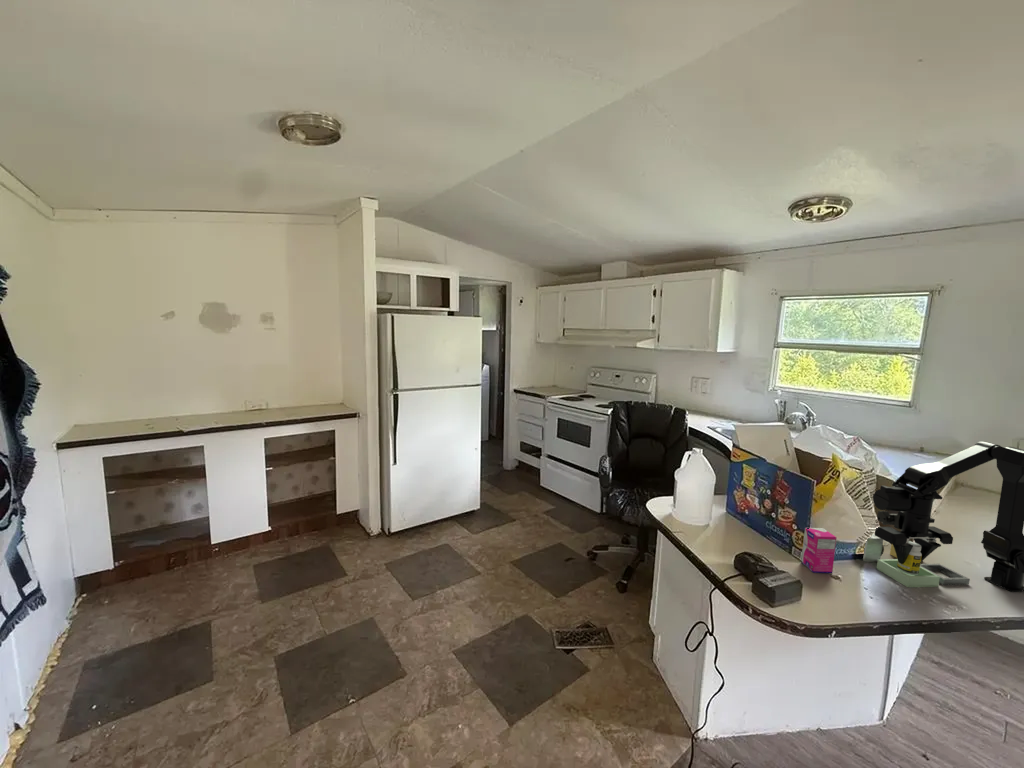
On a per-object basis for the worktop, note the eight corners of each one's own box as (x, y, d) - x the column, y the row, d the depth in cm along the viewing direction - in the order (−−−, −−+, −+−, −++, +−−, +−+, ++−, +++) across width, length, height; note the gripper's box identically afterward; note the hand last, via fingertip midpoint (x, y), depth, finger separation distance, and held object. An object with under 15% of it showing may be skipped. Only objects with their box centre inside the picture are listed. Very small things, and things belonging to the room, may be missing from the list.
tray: (905, 568, 129) (906, 559, 129) (938, 586, 120) (940, 576, 120) (876, 568, 128) (877, 559, 128) (907, 587, 119) (909, 577, 119)
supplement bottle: (913, 577, 121) (917, 549, 120) (893, 568, 125) (897, 541, 124) (922, 573, 123) (926, 546, 122) (902, 565, 127) (906, 538, 126)
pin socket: (938, 569, 130) (939, 563, 129) (968, 584, 122) (969, 579, 121) (913, 569, 129) (914, 563, 129) (943, 585, 121) (944, 579, 121)
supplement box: (799, 562, 130) (804, 526, 129) (819, 563, 130) (824, 527, 129) (812, 573, 125) (817, 536, 123) (833, 574, 125) (838, 537, 123)
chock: (909, 554, 138) (911, 542, 138) (922, 561, 134) (924, 549, 134) (889, 554, 138) (891, 542, 137) (902, 561, 134) (903, 549, 133)
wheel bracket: (872, 553, 138) (876, 527, 136) (885, 561, 133) (890, 534, 132) (851, 553, 137) (855, 527, 136) (864, 561, 132) (868, 534, 131)
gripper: (917, 500, 130) (910, 548, 132) (861, 500, 129) (854, 549, 131) (958, 516, 119) (949, 568, 121) (897, 516, 118) (889, 569, 120)
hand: (909, 563), depth 124 cm, fingers closed on supplement bottle, 5 cm apart
